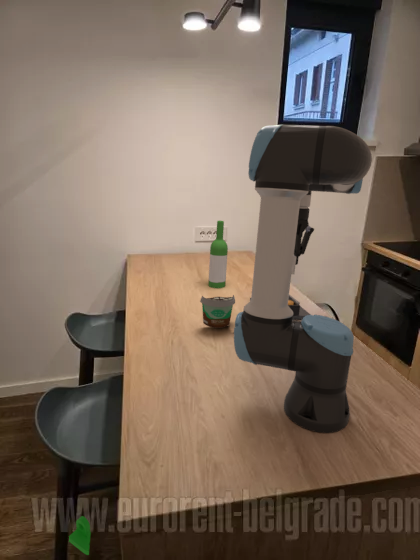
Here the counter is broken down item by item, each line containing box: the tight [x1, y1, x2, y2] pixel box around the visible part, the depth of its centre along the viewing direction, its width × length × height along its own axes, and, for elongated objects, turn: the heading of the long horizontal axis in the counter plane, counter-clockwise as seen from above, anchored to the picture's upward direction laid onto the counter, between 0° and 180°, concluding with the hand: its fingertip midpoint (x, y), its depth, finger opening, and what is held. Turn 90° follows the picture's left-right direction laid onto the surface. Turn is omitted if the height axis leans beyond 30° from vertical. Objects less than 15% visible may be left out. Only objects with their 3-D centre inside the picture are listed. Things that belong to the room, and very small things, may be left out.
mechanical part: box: [68, 515, 92, 556], centre depth 146 cm, size 12×6×8 cm, turn 58°
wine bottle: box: [208, 220, 229, 289], centre depth 168 cm, size 8×8×30 cm
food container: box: [199, 294, 236, 329], centre depth 129 cm, size 12×6×10 cm, turn 105°
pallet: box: [249, 294, 312, 321], centre depth 148 cm, size 21×17×6 cm
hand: (290, 273), depth 137 cm, fingers closed
